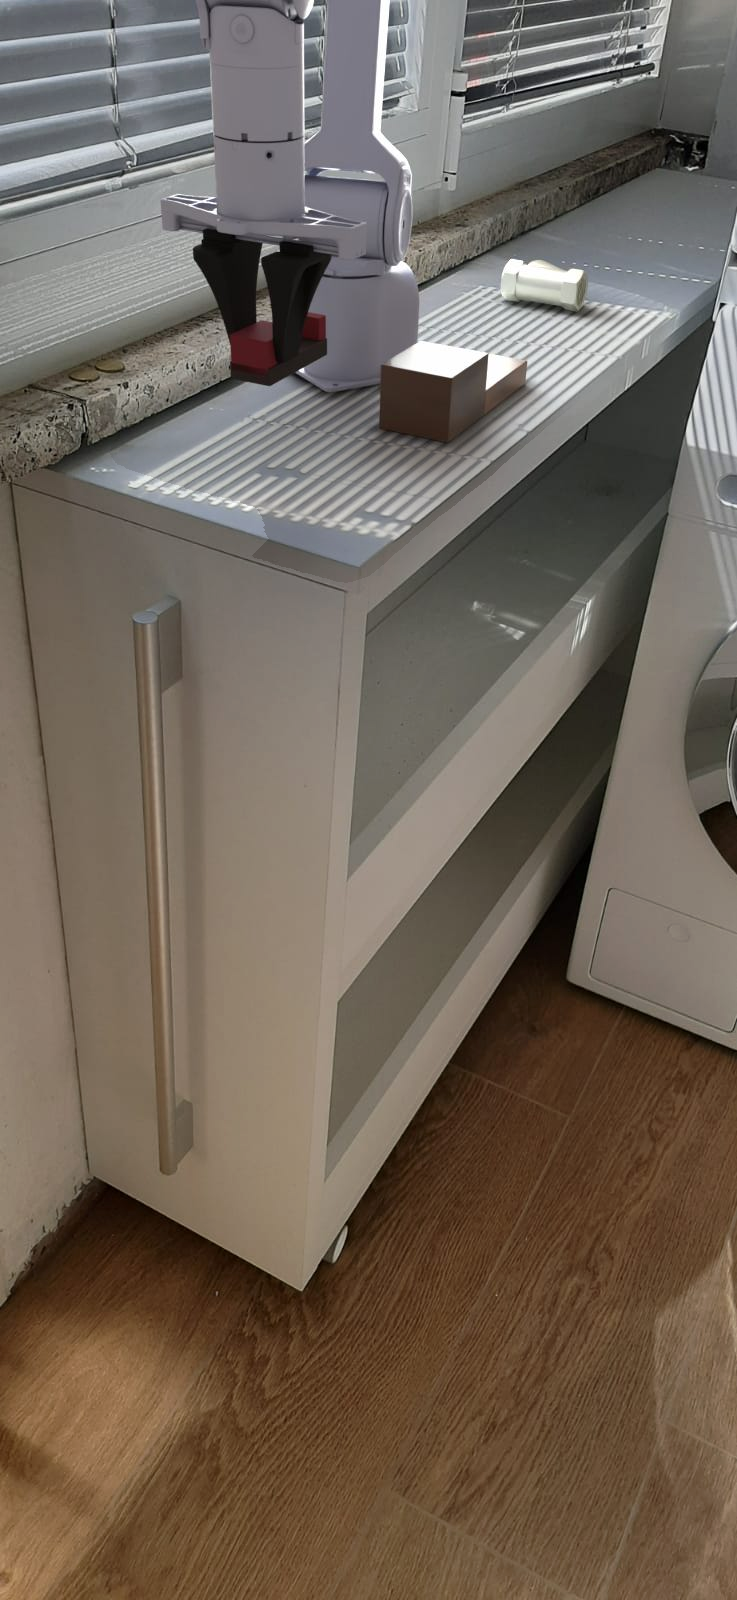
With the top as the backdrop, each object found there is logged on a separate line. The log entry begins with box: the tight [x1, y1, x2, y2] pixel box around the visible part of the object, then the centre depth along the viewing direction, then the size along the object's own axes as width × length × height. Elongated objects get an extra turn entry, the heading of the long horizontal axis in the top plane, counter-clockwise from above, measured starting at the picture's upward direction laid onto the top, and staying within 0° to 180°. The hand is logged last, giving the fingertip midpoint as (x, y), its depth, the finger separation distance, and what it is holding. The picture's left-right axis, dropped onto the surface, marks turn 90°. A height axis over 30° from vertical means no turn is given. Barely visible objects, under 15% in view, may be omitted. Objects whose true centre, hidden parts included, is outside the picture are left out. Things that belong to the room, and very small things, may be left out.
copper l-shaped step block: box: [378, 340, 528, 444], centre depth 102 cm, size 16×6×5 cm, turn 152°
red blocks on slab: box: [229, 312, 327, 387], centre depth 88 cm, size 8×3×3 cm, turn 152°
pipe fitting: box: [500, 258, 589, 313], centre depth 128 cm, size 8×4×7 cm
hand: (264, 354), depth 87 cm, fingers closed on red blocks on slab, 3 cm apart
